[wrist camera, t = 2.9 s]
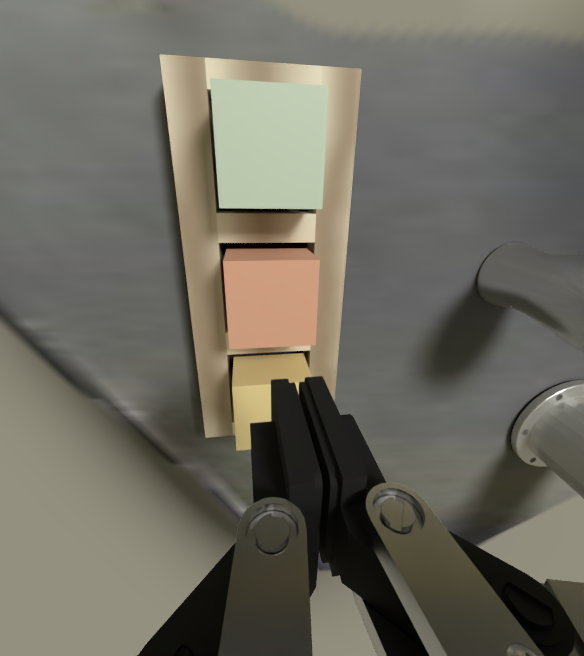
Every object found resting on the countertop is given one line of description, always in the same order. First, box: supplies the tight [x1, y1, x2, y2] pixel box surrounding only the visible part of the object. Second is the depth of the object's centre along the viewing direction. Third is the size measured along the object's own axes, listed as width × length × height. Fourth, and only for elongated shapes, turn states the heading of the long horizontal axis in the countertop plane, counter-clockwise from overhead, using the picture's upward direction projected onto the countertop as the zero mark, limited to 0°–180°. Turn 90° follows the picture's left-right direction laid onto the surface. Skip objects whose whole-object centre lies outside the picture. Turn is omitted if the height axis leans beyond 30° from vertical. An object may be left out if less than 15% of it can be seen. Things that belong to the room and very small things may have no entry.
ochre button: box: [232, 353, 312, 450], centre depth 26 cm, size 6×6×4 cm
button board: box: [160, 55, 362, 438], centre depth 26 cm, size 12×28×3 cm, turn 179°
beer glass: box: [477, 242, 584, 353], centre depth 23 cm, size 7×7×15 cm
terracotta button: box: [223, 248, 320, 349], centre depth 23 cm, size 6×6×4 cm
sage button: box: [210, 78, 329, 209], centre depth 19 cm, size 6×6×4 cm
